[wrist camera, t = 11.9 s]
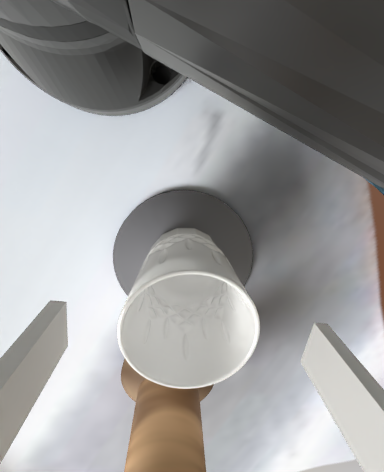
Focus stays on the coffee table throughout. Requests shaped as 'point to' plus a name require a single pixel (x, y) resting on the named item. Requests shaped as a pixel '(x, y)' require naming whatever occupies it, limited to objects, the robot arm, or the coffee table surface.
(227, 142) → the coffee table surface
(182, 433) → the doorknob
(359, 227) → the coffee table surface
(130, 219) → the pad
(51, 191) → the coffee table surface
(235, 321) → the white cup
